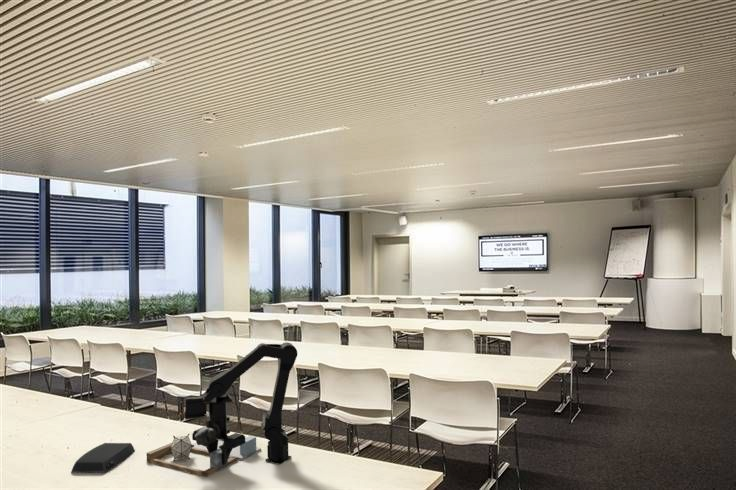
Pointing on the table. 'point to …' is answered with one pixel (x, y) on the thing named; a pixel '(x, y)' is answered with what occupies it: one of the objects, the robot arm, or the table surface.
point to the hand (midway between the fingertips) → (219, 463)
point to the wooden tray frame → (214, 467)
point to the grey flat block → (238, 448)
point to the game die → (181, 447)
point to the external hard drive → (103, 458)
